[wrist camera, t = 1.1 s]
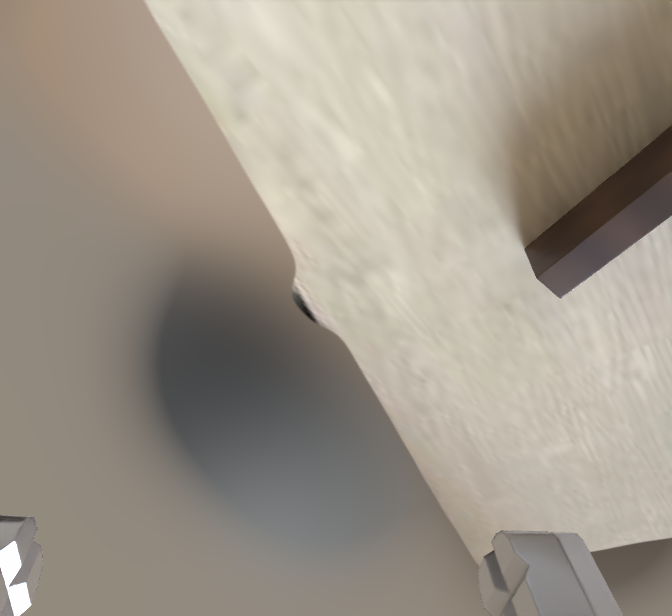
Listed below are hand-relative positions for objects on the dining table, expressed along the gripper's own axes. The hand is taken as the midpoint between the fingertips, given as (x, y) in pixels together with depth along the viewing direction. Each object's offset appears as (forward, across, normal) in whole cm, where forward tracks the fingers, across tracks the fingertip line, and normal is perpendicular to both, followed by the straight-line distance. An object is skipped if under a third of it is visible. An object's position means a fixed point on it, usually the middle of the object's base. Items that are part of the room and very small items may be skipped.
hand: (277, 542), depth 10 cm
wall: (+34, -28, +1) cm, 44 cm away
